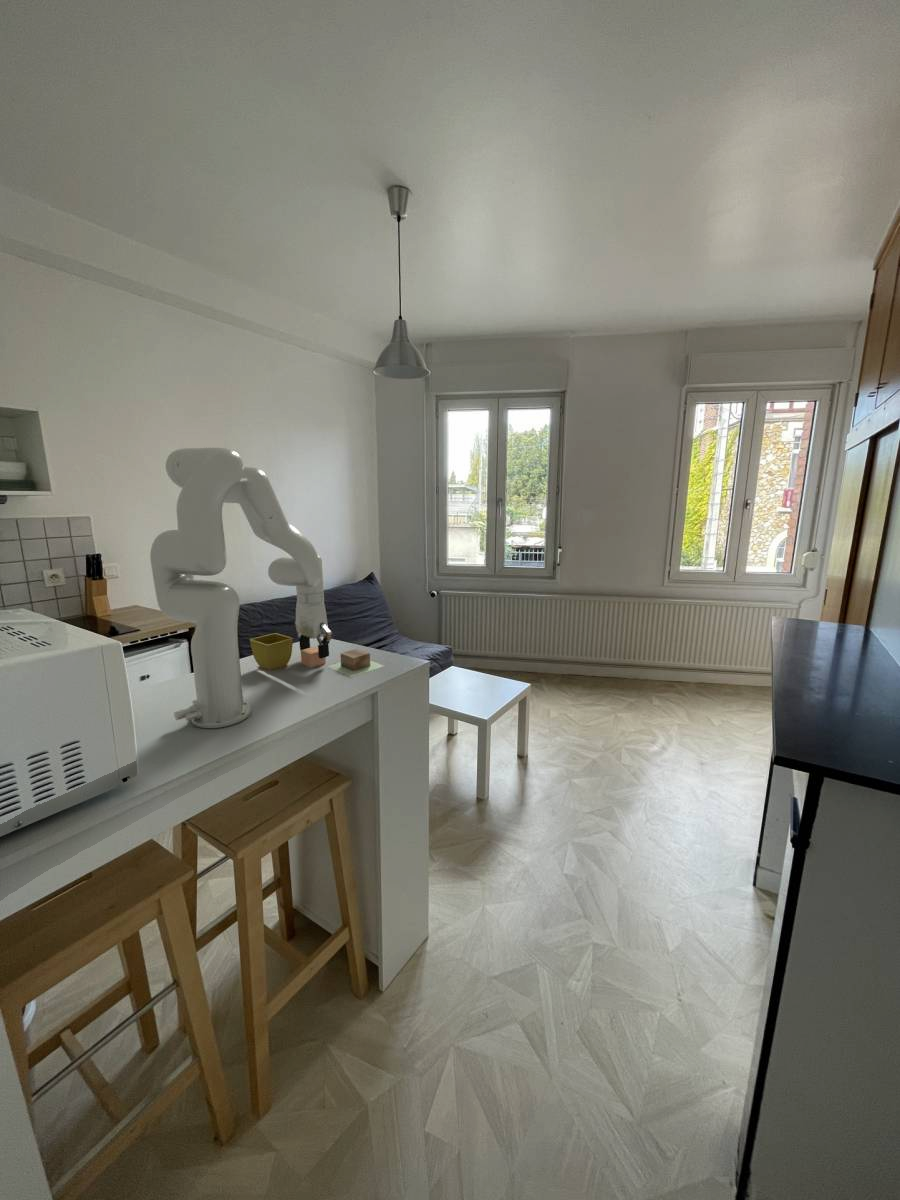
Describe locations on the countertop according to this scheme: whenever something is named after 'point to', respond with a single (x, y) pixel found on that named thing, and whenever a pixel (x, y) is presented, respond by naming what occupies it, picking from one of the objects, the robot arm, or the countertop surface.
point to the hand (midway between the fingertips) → (314, 653)
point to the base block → (355, 659)
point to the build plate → (354, 673)
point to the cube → (311, 657)
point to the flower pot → (272, 650)
